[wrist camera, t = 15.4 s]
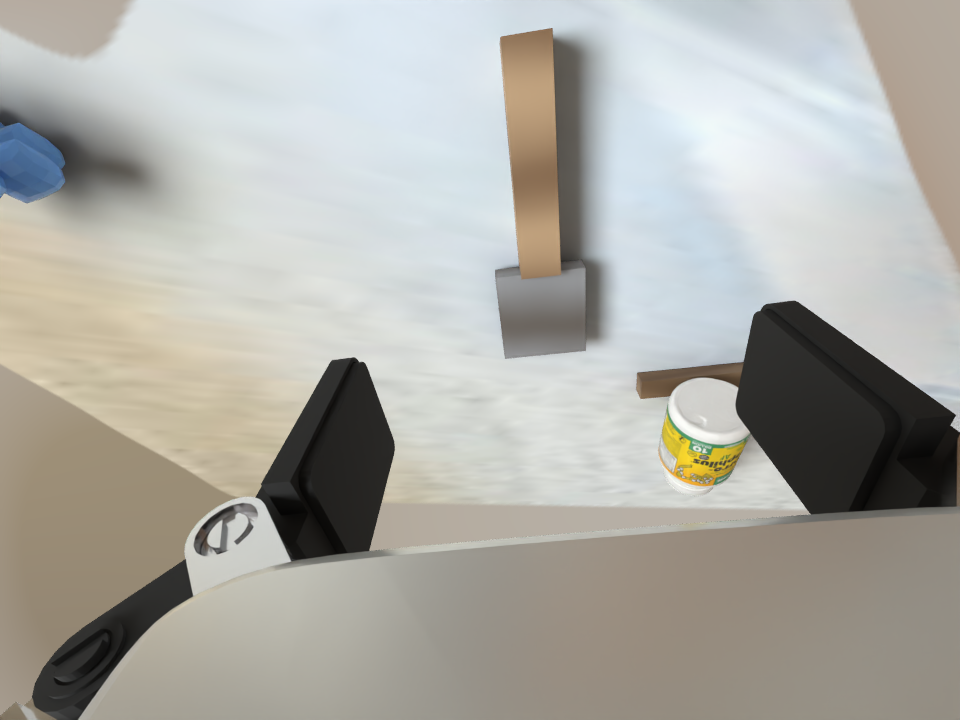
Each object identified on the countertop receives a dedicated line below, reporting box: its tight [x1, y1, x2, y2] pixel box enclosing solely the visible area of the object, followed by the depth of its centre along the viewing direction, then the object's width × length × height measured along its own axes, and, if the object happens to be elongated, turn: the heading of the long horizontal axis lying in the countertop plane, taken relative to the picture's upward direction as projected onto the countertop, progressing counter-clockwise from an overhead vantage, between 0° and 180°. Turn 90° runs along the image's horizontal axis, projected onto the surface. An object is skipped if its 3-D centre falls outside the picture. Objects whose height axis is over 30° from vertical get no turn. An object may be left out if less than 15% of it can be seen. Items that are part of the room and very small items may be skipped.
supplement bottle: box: [658, 378, 751, 496], centre depth 32 cm, size 5×5×10 cm
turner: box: [495, 28, 586, 359], centre depth 26 cm, size 18×6×3 cm, turn 8°
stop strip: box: [636, 362, 744, 399], centre depth 32 cm, size 2×10×1 cm, turn 98°
